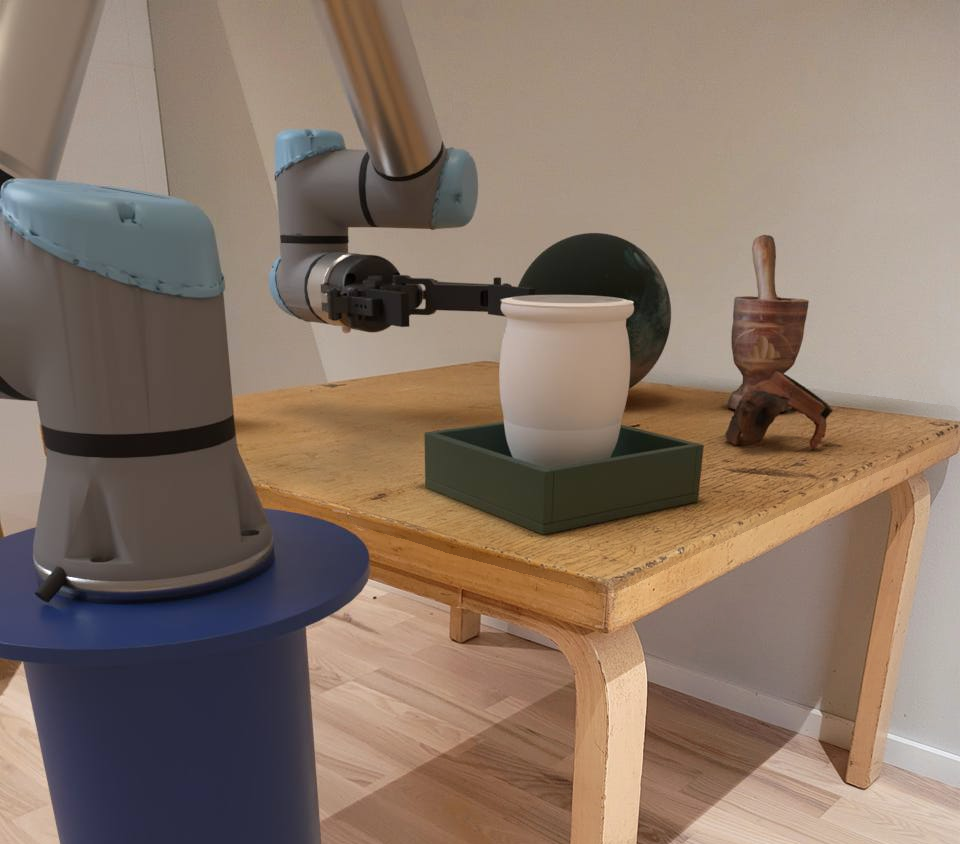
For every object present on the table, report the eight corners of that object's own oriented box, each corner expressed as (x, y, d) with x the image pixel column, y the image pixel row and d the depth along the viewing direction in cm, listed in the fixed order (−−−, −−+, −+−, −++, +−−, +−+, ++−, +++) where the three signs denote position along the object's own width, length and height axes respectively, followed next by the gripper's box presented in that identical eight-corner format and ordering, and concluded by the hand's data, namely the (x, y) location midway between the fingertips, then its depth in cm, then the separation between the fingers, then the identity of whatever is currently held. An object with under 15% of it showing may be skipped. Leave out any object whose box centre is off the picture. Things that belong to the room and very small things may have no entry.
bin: (543, 535, 71) (545, 471, 69) (424, 487, 84) (423, 432, 82) (698, 501, 80) (704, 444, 78) (570, 462, 92) (572, 412, 91)
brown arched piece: (736, 434, 108) (783, 370, 104) (801, 484, 104) (852, 420, 100) (694, 422, 98) (745, 351, 94) (765, 477, 94) (820, 405, 91)
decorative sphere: (679, 413, 116) (696, 235, 108) (515, 413, 115) (519, 233, 107) (646, 387, 134) (659, 232, 126) (504, 386, 134) (507, 231, 126)
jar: (479, 493, 79) (481, 301, 73) (519, 465, 88) (524, 292, 82) (605, 506, 76) (617, 306, 69) (634, 476, 84) (647, 296, 78)
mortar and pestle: (696, 400, 125) (713, 234, 117) (753, 397, 127) (773, 234, 119) (747, 416, 115) (769, 236, 107) (808, 413, 117) (833, 236, 109)
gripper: (456, 323, 109) (576, 342, 93) (248, 336, 96) (347, 360, 80) (456, 252, 106) (580, 259, 90) (241, 255, 93) (343, 263, 77)
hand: (471, 307), depth 85 cm, fingers open, 13 cm apart
